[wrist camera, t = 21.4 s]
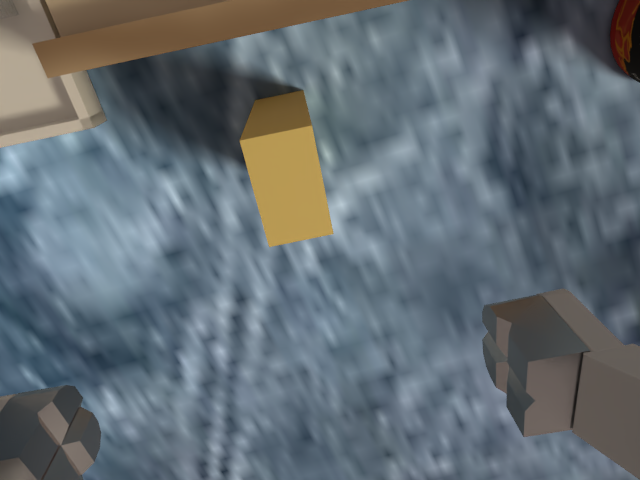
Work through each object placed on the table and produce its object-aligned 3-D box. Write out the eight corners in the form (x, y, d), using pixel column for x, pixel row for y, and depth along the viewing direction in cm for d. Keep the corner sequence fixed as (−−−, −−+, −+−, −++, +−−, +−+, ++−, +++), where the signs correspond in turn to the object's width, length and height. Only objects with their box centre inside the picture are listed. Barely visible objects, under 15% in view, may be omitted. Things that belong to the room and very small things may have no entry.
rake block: (255, 100, 27) (239, 140, 18) (303, 90, 27) (311, 125, 18) (274, 177, 29) (269, 246, 20) (318, 167, 29) (333, 233, 20)
